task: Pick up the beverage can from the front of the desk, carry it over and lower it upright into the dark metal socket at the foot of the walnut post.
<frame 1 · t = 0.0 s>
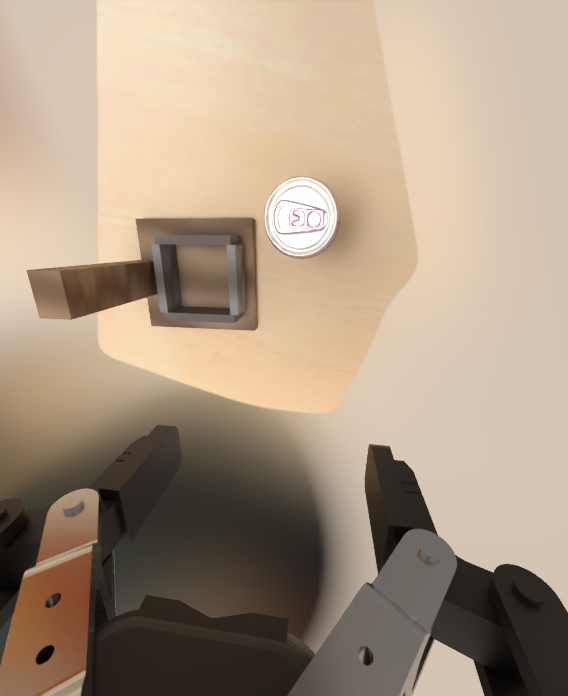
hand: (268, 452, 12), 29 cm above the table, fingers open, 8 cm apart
beverage can: (310, 228, 36), on the table
post holder: (212, 275, 40), on the table
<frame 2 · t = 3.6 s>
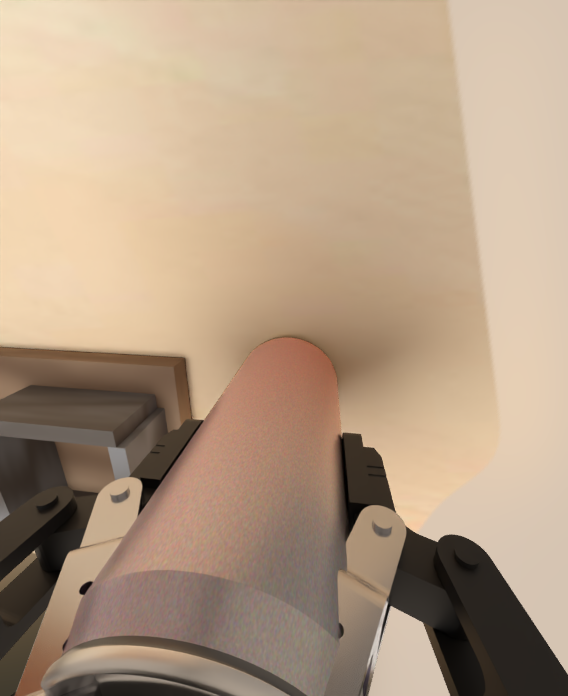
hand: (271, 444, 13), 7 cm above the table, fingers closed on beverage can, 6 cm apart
beverage can: (289, 377, 19), on the table, touching gripper
post holder: (119, 438, 22), on the table
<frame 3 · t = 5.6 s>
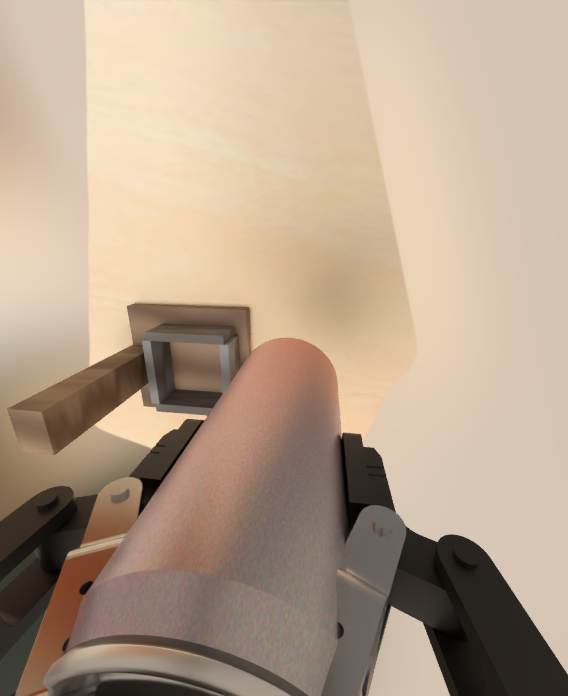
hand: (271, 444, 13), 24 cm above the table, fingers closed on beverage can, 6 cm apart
beverage can: (290, 377, 19), point 17 cm above the table, touching gripper
post holder: (206, 358, 39), on the table
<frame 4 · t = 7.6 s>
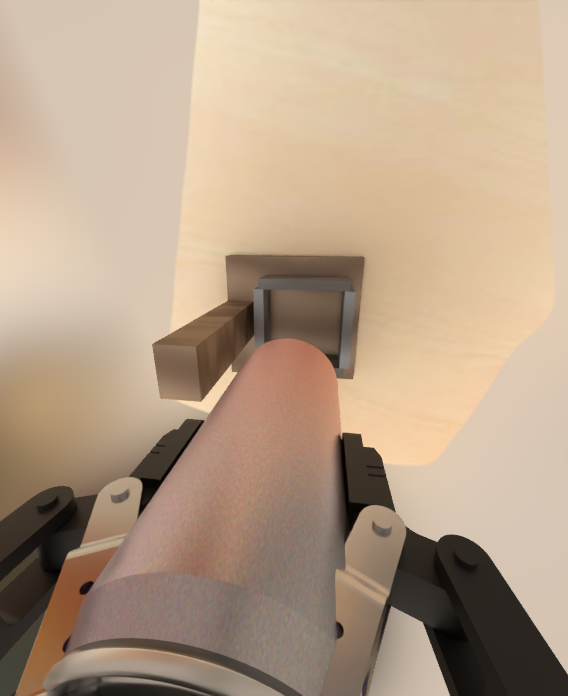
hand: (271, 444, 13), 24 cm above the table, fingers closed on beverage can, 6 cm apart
beverage can: (290, 378, 19), point 17 cm above the table, touching gripper
post holder: (305, 317, 35), on the table
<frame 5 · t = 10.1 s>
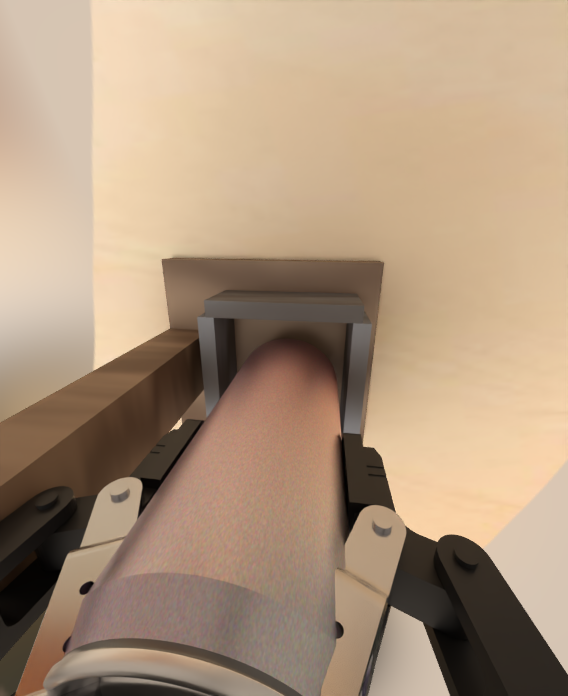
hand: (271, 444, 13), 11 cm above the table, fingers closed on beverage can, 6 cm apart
beverage can: (290, 378, 19), point 4 cm above the table, touching gripper
post holder: (290, 352, 23), on the table
when the fingers open (9 cm above the table, at t = 12.1 s): beverage can drops 1 cm, resting on post holder.
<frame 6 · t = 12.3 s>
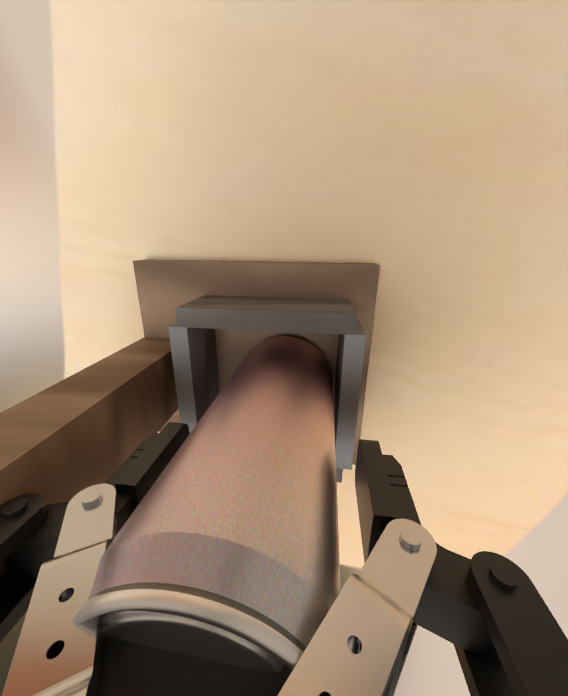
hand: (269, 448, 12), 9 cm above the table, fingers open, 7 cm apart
beverage can: (287, 374, 20), point 1 cm above the table, touching post holder
post holder: (278, 363, 21), on the table
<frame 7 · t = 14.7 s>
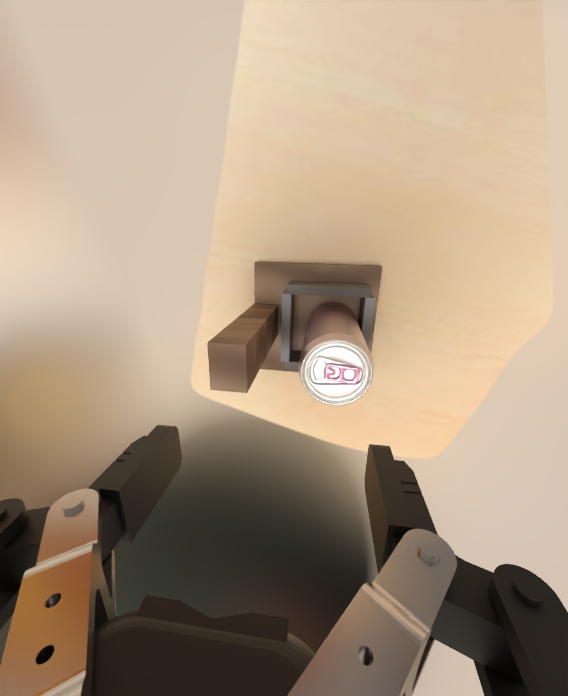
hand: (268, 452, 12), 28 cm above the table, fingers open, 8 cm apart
beverage can: (331, 324, 37), point 1 cm above the table, touching post holder
post holder: (325, 319, 38), on the table
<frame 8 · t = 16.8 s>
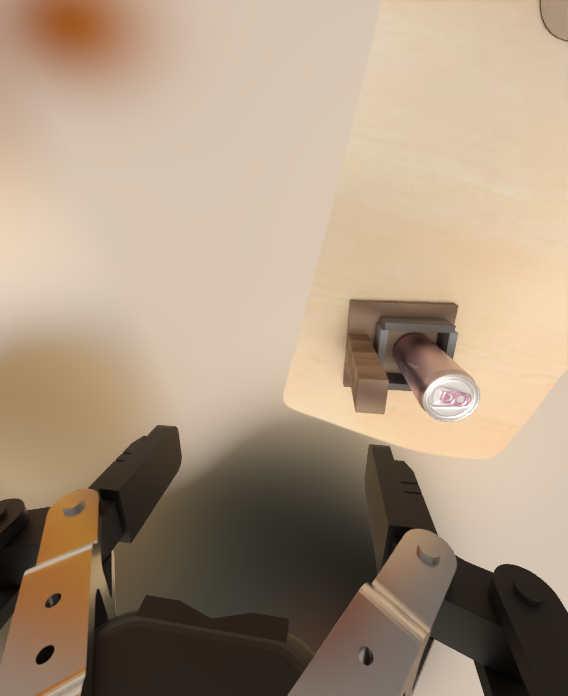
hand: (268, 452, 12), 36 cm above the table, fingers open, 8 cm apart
beverage can: (412, 350, 45), point 1 cm above the table, touching post holder
post holder: (404, 346, 46), on the table
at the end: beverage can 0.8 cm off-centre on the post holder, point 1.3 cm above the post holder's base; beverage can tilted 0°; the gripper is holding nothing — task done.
